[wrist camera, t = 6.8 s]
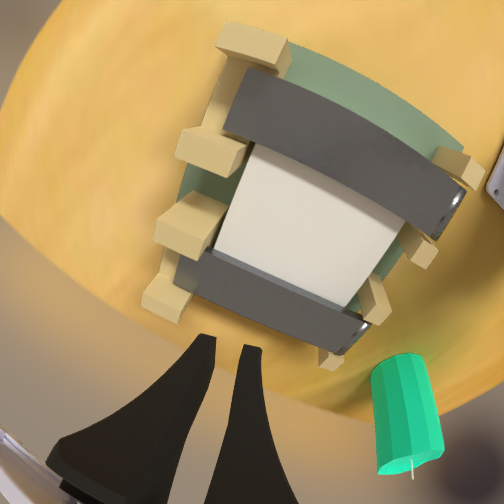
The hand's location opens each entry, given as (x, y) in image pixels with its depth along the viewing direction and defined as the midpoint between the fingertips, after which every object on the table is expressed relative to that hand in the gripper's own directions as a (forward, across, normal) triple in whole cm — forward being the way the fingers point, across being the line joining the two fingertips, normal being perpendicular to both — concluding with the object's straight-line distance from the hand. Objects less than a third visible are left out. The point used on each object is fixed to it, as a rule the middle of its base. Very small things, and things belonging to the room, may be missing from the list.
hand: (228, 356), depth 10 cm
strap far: (+5, -1, +1) cm, 6 cm away
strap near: (+5, -4, -8) cm, 10 cm away
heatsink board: (+9, -2, -4) cm, 10 cm away
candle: (+10, -16, +11) cm, 21 cm away
